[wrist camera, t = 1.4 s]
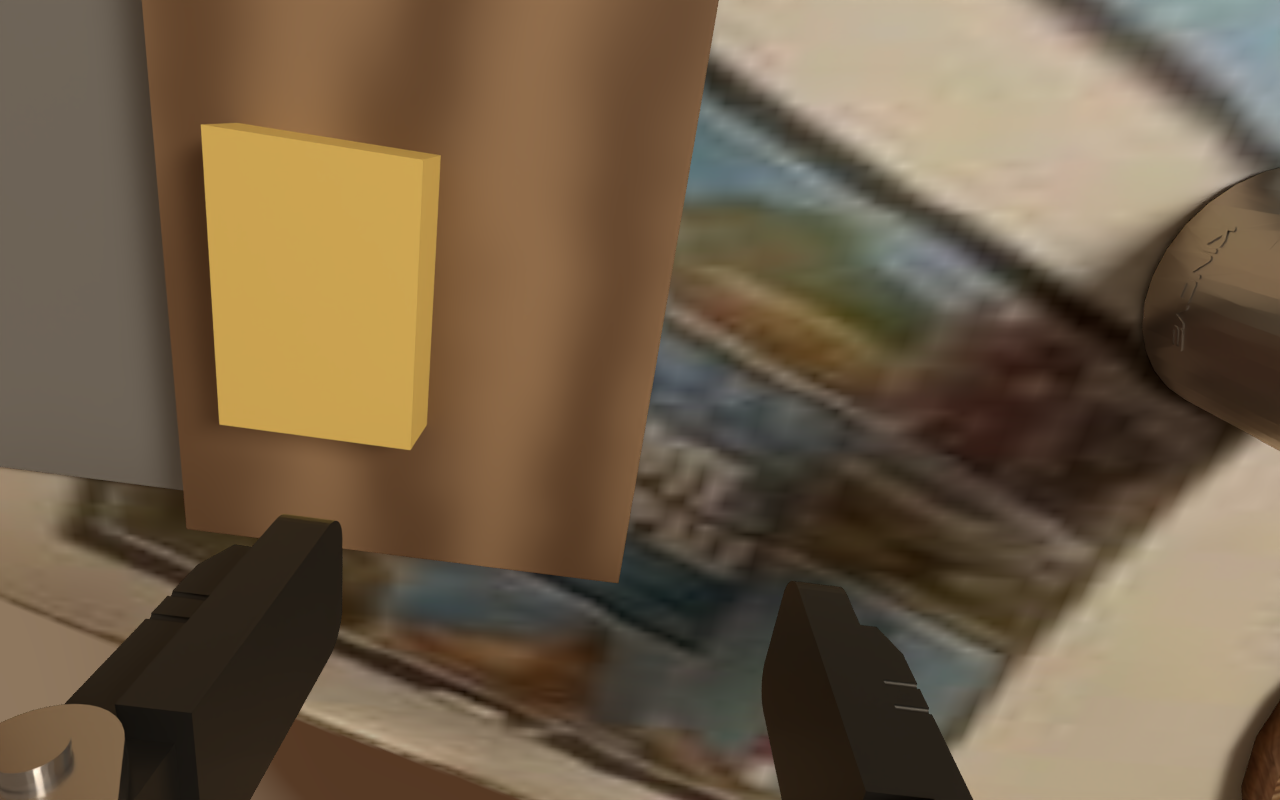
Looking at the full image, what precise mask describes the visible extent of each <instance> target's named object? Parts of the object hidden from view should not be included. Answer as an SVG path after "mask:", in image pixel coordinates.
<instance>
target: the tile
mask: <svg viewBox="0 0 1280 800" xmlns="http://www.w3.org/2000/svg"><path fill="white" fill-rule="evenodd" d="M201 136H202V152H203V168H204V185H205V201H206V217H207V233H208V249H209V265H210V281H211V298H212V314H213V330H214V346H215V362H216V378H217V394H218V411H219V425H227V426H234V427H242V428H249V429H257V430H264V431H271V432H279V433H286V434H294V435H301V436H309V437H316V438H323V439H331V440H338V441H346V442H353V443H360V444H368V445H375V446H383V447H390V448H398V449H405V450H411V449H412V447H413V445H414V444H415V442H416V441H417V439H418V438H419V436H420V435H421V433H422V432H423V430H424V429H425V427H426V426H427V411H428V391H429V372H430V353H431V334H432V314H433V295H434V276H435V257H436V237H437V218H438V199H439V180H440V160H441V155H436V154H429V153H423V152H417V151H411V150H404V149H398V148H392V147H386V146H379V145H373V144H367V143H361V142H354V141H348V140H342V139H336V138H329V137H323V136H317V135H310V134H304V133H298V132H292V131H285V130H279V129H273V128H267V127H260V126H254V125H248V124H242V123H223V124H201Z"/></svg>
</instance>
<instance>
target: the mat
mask: <svg viewBox="0 0 1280 800" xmlns="http://www.w3.org/2000/svg"><path fill="white" fill-rule="evenodd" d="M0 467H6V468H14V469H21V470H29V471H37V472H45V473H52V474H60V475H68V476H76V477H83V478H91V479H99V480H107V481H114V482H122V483H130V484H138V485H145V486H153V487H161V488H169V489H176V490H183V481H182V469H181V457H180V445H179V433H178V422H177V410H176V398H175V386H174V375H173V363H172V351H171V339H170V327H169V316H168V304H167V292H166V280H165V268H164V257H163V245H162V233H161V221H160V210H159V198H158V186H157V174H156V162H155V151H154V139H153V127H152V115H151V103H150V92H149V80H148V68H147V56H146V45H145V33H144V21H143V9H142V0H0Z"/></svg>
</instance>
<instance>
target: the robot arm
mask: <svg viewBox="0 0 1280 800" xmlns="http://www.w3.org/2000/svg"><path fill="white" fill-rule="evenodd" d="M1142 328H1143V335H1144V342H1145V350H1146V352H1147V355H1148V357H1149V359H1150V362H1151V364H1152V367H1153V369H1154V371H1155V372H1156V373H1157V375H1158V376H1159V377H1160V378H1161V380H1162V381H1163V382H1164V383H1165V385H1166V386H1167V387H1168V388H1169V389H1171V390H1172V391H1174V392H1175V393H1176V394H1178V395H1179V396H1181V397H1182V398H1183V399H1185V400H1186V401H1188V402H1190V403H1192V404H1194V405H1196V406H1198V407H1200V408H1201V409H1203V410H1205V411H1207V412H1209V413H1211V414H1213V415H1214V416H1216V417H1218V418H1220V419H1222V420H1224V421H1226V422H1228V423H1229V424H1231V425H1233V426H1235V427H1237V428H1239V429H1241V430H1242V431H1244V432H1246V433H1248V434H1250V435H1252V436H1254V437H1255V438H1257V439H1259V440H1261V441H1262V442H1264V443H1266V444H1267V445H1269V446H1271V447H1273V448H1275V449H1277V450H1279V451H1280V168H1277V169H1273V170H1269V171H1265V172H1263V173H1260V174H1258V175H1256V176H1254V177H1252V178H1250V179H1247V180H1245V181H1243V182H1241V183H1239V184H1236V185H1235V186H1233V187H1232V188H1230V189H1229V190H1227V191H1226V192H1224V193H1223V194H1221V195H1220V196H1218V197H1217V198H1215V199H1214V200H1213V201H1211V202H1210V203H1208V204H1207V205H1206V206H1205V207H1204V208H1203V209H1202V210H1201V211H1200V212H1199V213H1198V214H1197V215H1196V216H1194V217H1193V218H1192V219H1191V220H1190V221H1189V222H1188V223H1187V224H1186V225H1185V226H1184V228H1183V229H1182V230H1181V231H1180V233H1179V234H1178V235H1177V237H1176V238H1175V239H1174V241H1173V242H1172V243H1171V244H1170V246H1169V247H1168V248H1167V250H1166V252H1165V253H1164V255H1163V257H1162V259H1161V261H1160V263H1159V265H1158V267H1157V269H1156V271H1155V272H1154V274H1153V277H1152V280H1151V283H1150V286H1149V290H1148V293H1147V296H1146V299H1145V304H1144V314H1143V325H1142ZM342 541H343V537H342V528H341V525H340V523H339V522H338V521H335V520H327V519H319V518H311V517H304V516H296V515H288V514H283V515H280V516H279V517H278V518H277V519H276V520H275V521H274V522H273V523H272V524H271V526H270V527H269V528H268V529H267V530H266V531H265V532H264V534H263V535H262V536H261V537H260V538H259V539H258V540H257V542H256V543H255V544H254V545H253V546H252V547H249V546H241V545H233V546H231V547H229V548H227V549H225V550H224V551H222V552H220V553H218V554H216V555H215V556H213V557H211V558H209V559H207V560H205V561H204V562H202V563H200V564H198V565H197V566H196V567H195V568H194V569H193V570H192V571H191V572H190V573H189V574H188V575H187V576H186V577H185V578H184V579H183V581H182V582H181V583H180V584H179V585H178V586H177V587H176V588H175V589H174V590H173V592H172V595H171V597H170V596H167V597H166V598H165V599H164V600H163V601H162V602H161V604H160V605H159V606H158V607H157V608H156V609H155V610H154V611H153V612H152V613H151V617H150V619H145V620H144V621H143V622H142V623H141V624H140V625H139V627H138V628H137V629H136V630H135V631H134V632H133V633H132V634H131V635H130V636H129V637H128V638H127V639H126V640H125V641H124V642H123V643H122V644H121V645H120V646H119V647H118V648H117V650H116V651H115V652H114V653H113V654H112V655H111V656H110V657H109V658H108V659H107V660H106V661H105V662H104V663H103V664H102V665H101V666H100V667H99V668H98V669H97V670H96V671H95V673H94V674H93V675H92V676H91V677H90V678H89V679H88V680H87V681H86V682H85V683H84V684H83V685H82V686H81V687H80V688H79V689H78V690H77V692H75V693H74V694H73V696H72V697H71V698H70V699H69V700H68V701H67V702H66V703H65V704H63V705H56V706H49V707H44V708H40V709H36V710H32V711H29V712H26V713H23V714H20V715H17V716H15V717H13V718H10V719H8V720H5V721H3V722H1V723H0V800H250V799H251V797H252V796H253V794H254V792H255V790H256V788H257V787H258V785H259V783H260V781H261V779H262V777H263V776H264V774H265V772H266V770H267V769H268V767H269V765H270V763H271V761H272V760H273V758H274V756H275V754H276V752H277V751H278V749H279V747H280V745H281V743H282V741H283V740H284V738H285V736H286V734H287V733H288V731H289V729H290V727H291V726H292V723H293V722H294V720H295V718H296V717H297V715H298V713H299V711H300V709H301V708H302V706H303V704H304V702H305V700H306V699H307V697H308V695H309V693H310V691H311V690H312V688H313V686H314V684H315V682H316V681H317V679H318V677H319V675H320V673H321V672H322V670H323V668H324V666H325V664H326V663H327V661H328V659H329V657H330V655H331V653H332V651H333V648H334V646H335V643H336V640H337V636H338V632H339V628H340V623H341V616H342ZM916 685H917V683H916V681H915V678H914V676H913V674H912V672H911V670H910V668H909V666H908V664H907V662H906V660H905V658H904V656H903V654H902V653H901V652H900V651H899V650H898V649H897V648H896V647H895V646H894V645H893V644H892V643H891V642H890V640H889V639H888V638H887V637H886V636H885V635H884V634H883V633H882V632H881V631H880V630H879V629H878V628H877V627H872V626H864V625H860V624H859V622H858V619H857V617H856V615H855V612H854V610H853V608H852V605H851V603H850V601H849V598H848V596H847V594H846V592H845V590H844V589H843V588H841V587H835V586H828V585H820V584H812V583H805V582H797V581H791V582H789V583H788V585H787V586H786V589H785V591H784V594H783V598H782V601H781V605H780V609H779V612H778V616H777V620H776V623H775V627H774V631H773V634H772V638H771V642H770V645H769V649H768V653H767V656H766V660H765V664H764V669H763V676H762V705H763V712H764V716H765V721H766V726H767V731H768V736H769V740H770V745H771V750H772V755H773V760H774V764H775V769H776V774H777V779H778V783H779V788H780V793H781V798H782V800H973V798H972V796H971V794H970V792H969V790H968V788H967V786H966V784H965V782H964V780H963V778H962V776H961V773H960V771H959V769H958V767H957V765H956V763H955V761H954V759H953V757H952V755H951V753H950V751H949V749H948V747H947V745H946V742H945V740H944V738H943V736H942V734H941V732H940V730H939V728H938V726H937V724H936V722H935V720H934V718H933V716H932V714H929V712H928V710H929V707H928V705H927V703H926V701H925V699H924V697H923V695H922V693H921V691H920V689H917V687H916Z"/></svg>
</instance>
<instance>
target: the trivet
mask: <svg viewBox="0 0 1280 800" xmlns="http://www.w3.org/2000/svg"><path fill="white" fill-rule="evenodd" d="M1241 788H1242V800H1280V701H1279V703H1278V704H1277V706H1276V707H1275V709H1274V710H1273V712H1272V713H1271V715H1270V717H1269V718H1268V720H1267V721H1266V723H1265V724H1264V726H1263V727H1262V729H1261V730H1260V732H1259V734H1258V735H1257V737H1256V740H1255V743H1254V746H1253V750H1252V753H1251V757H1250V760H1249V763H1248V767H1247V770H1246V773H1245V777H1244V780H1243V783H1242V787H1241Z"/></svg>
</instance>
